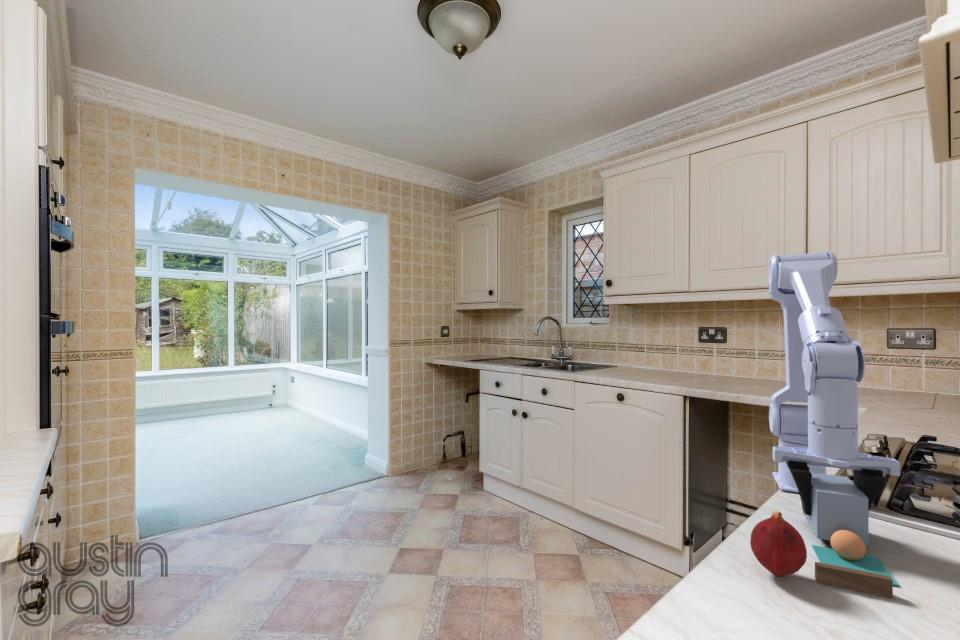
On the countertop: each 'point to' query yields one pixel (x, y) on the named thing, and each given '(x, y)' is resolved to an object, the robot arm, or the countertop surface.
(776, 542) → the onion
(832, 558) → the mark
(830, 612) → the countertop surface
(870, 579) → the brown cuboid
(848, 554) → the egg
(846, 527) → the matte gray cuboid
